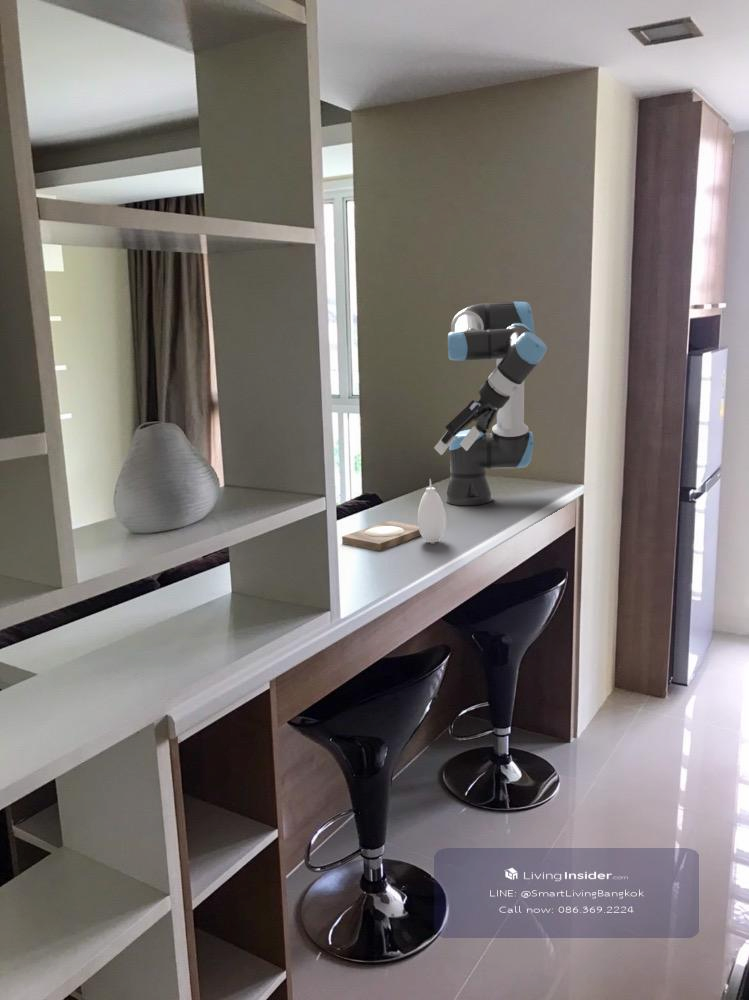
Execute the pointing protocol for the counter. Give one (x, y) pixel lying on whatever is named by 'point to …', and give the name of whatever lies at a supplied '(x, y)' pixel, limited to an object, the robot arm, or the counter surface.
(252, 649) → the counter surface
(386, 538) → the walnut board
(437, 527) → the white pear with stem
